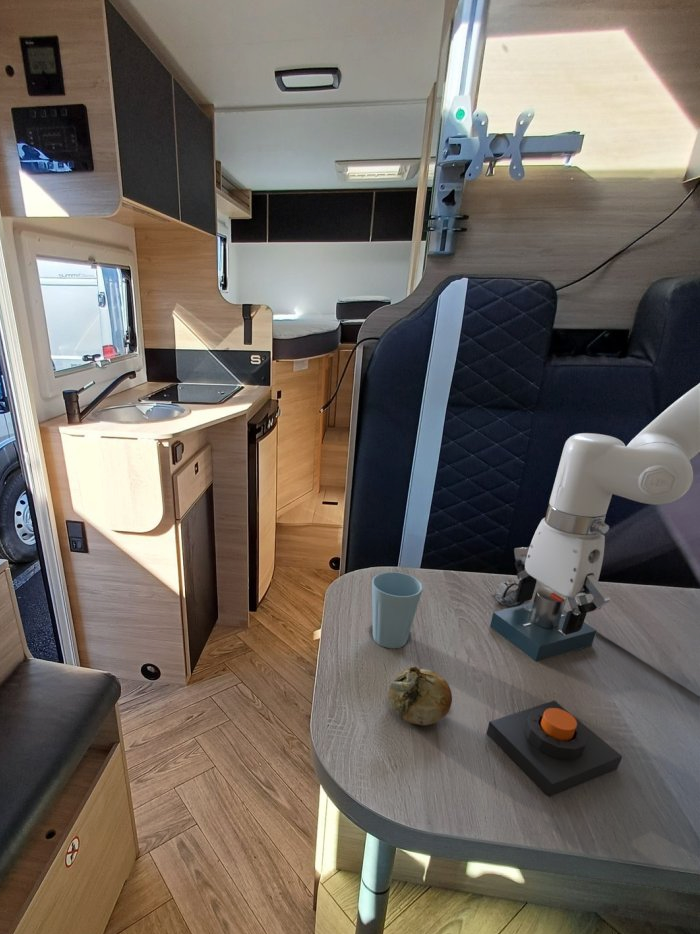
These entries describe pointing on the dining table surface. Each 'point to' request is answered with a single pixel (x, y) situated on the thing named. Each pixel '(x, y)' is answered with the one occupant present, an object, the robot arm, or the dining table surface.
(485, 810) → the dining table surface
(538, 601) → the temp dial
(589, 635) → the dial panel
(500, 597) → the wristwatch
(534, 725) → the button base
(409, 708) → the onion
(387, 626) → the cup
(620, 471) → the robot arm
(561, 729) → the button
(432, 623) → the dining table surface
